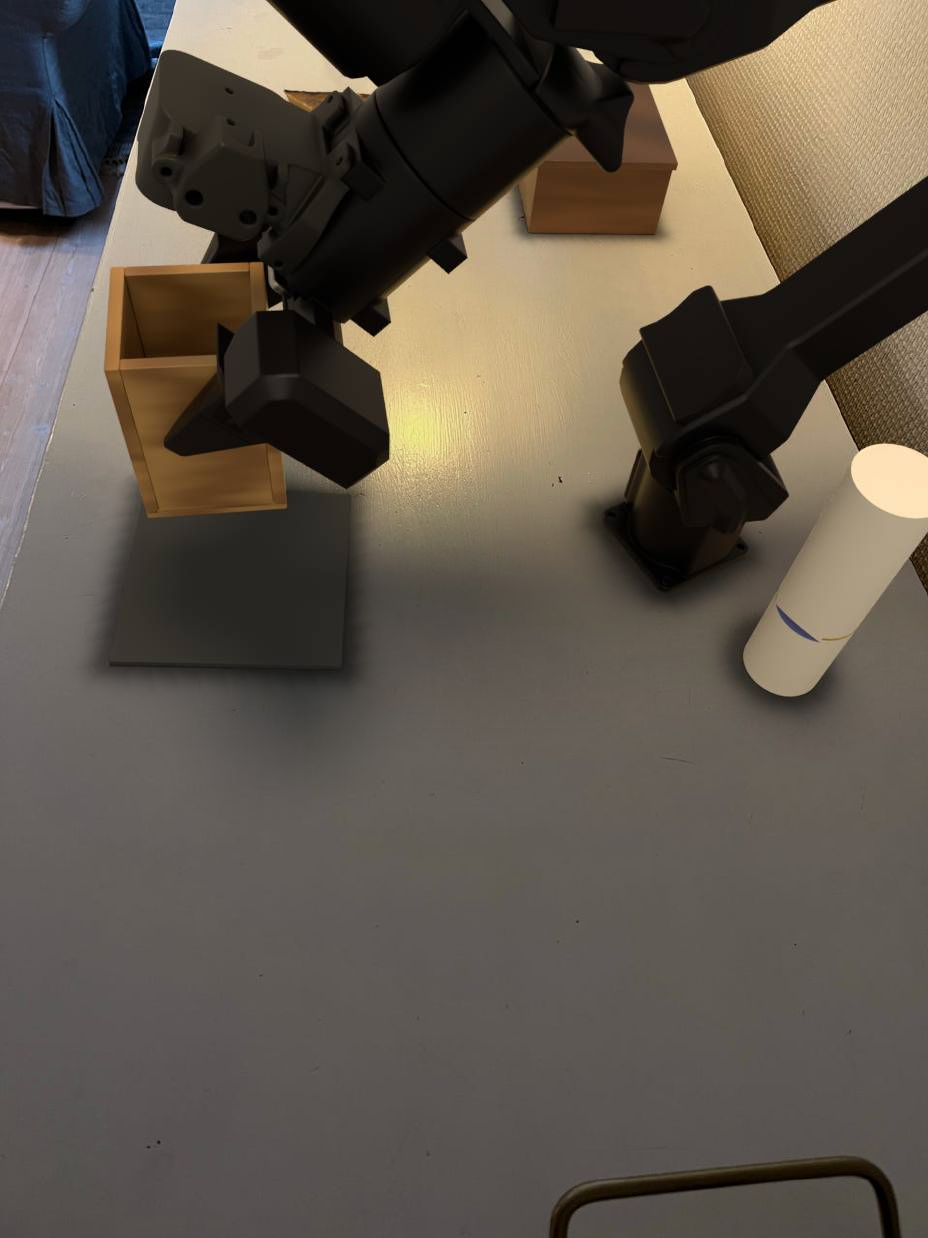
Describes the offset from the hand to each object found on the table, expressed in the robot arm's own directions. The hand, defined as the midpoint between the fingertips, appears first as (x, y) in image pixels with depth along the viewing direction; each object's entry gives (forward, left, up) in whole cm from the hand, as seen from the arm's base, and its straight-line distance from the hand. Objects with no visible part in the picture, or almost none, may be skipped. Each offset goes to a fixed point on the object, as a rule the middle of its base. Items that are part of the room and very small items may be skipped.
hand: (173, 393), depth 44 cm
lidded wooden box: (+22, -40, -13) cm, 48 cm away
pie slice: (+36, -27, -14) cm, 47 cm away
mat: (-1, -1, -13) cm, 14 cm away
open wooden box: (-1, -1, -5) cm, 5 cm away
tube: (-20, -25, -14) cm, 35 cm away
